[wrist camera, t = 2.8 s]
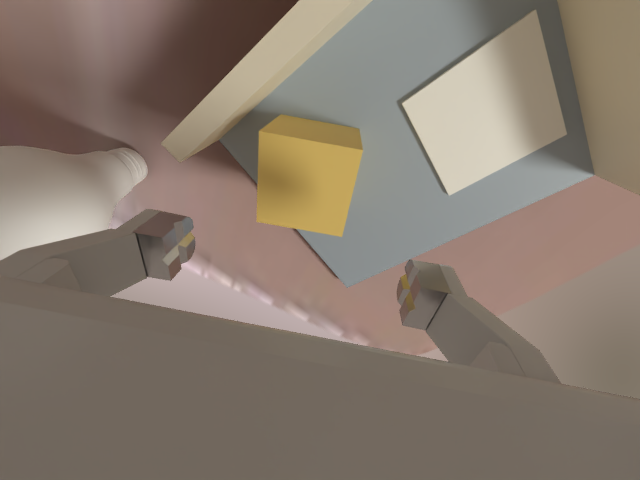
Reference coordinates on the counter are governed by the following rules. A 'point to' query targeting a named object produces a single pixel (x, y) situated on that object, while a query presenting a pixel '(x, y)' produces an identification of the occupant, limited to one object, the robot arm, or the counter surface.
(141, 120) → the counter surface
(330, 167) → the cube
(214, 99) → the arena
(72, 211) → the lightbulb
